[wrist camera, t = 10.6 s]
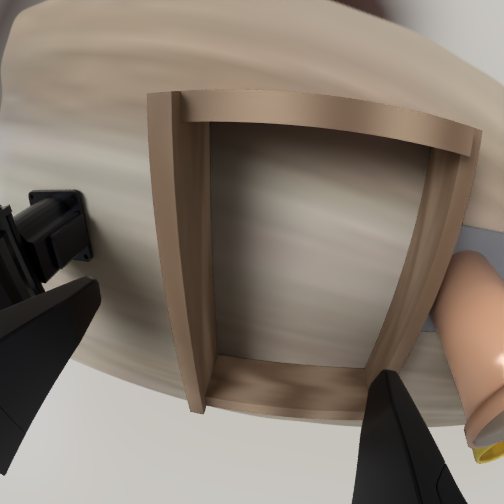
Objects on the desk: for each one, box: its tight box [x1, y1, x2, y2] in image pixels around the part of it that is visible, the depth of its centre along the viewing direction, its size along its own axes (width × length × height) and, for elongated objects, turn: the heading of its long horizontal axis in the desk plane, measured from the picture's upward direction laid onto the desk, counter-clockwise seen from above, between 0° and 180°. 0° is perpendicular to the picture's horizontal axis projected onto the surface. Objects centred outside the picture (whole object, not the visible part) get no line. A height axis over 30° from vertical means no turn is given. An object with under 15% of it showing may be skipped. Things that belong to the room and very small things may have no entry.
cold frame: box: [147, 90, 482, 420], centre depth 19 cm, size 16×24×6 cm
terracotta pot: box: [429, 250, 504, 449], centre depth 15 cm, size 7×7×13 cm
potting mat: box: [421, 225, 504, 332], centre depth 20 cm, size 10×10×1 cm
